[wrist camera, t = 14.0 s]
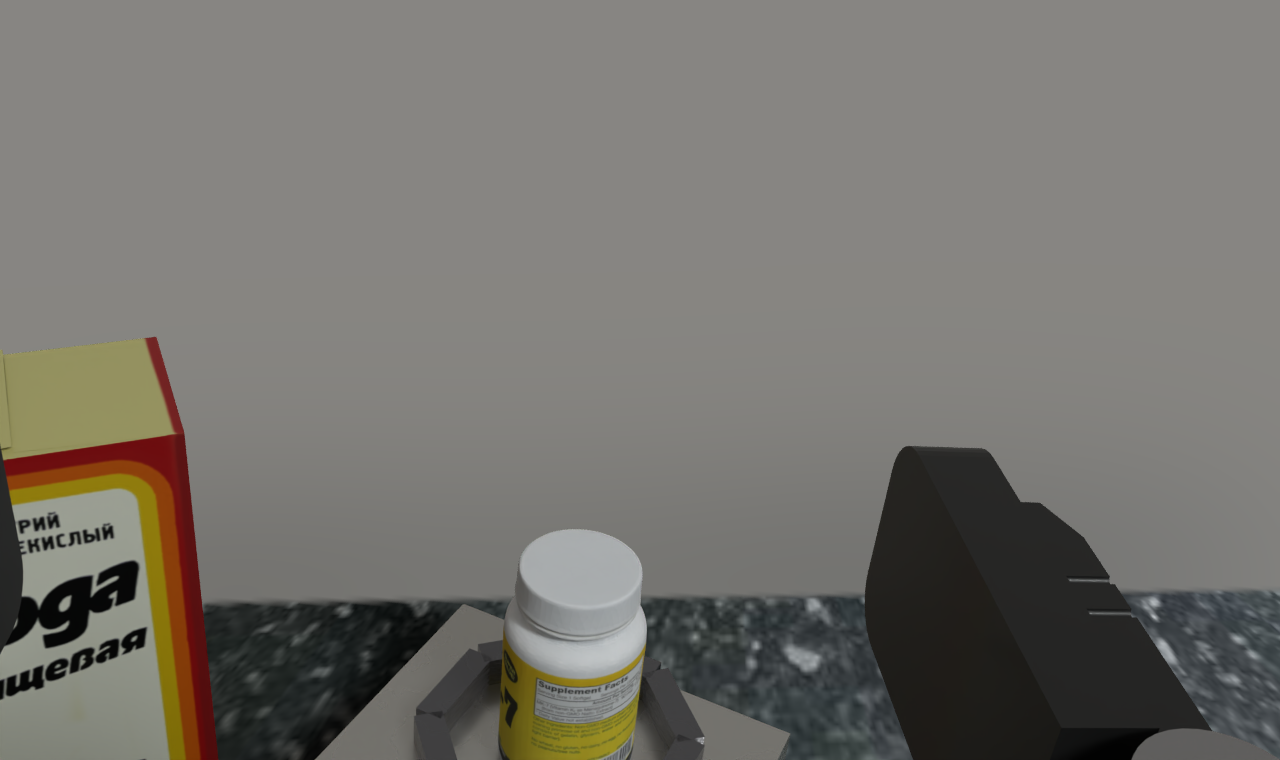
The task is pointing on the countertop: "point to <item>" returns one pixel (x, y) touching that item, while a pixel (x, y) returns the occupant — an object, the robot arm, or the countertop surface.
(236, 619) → the countertop surface
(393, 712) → the octagon ring base plate
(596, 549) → the supplement bottle
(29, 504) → the baking soda box
